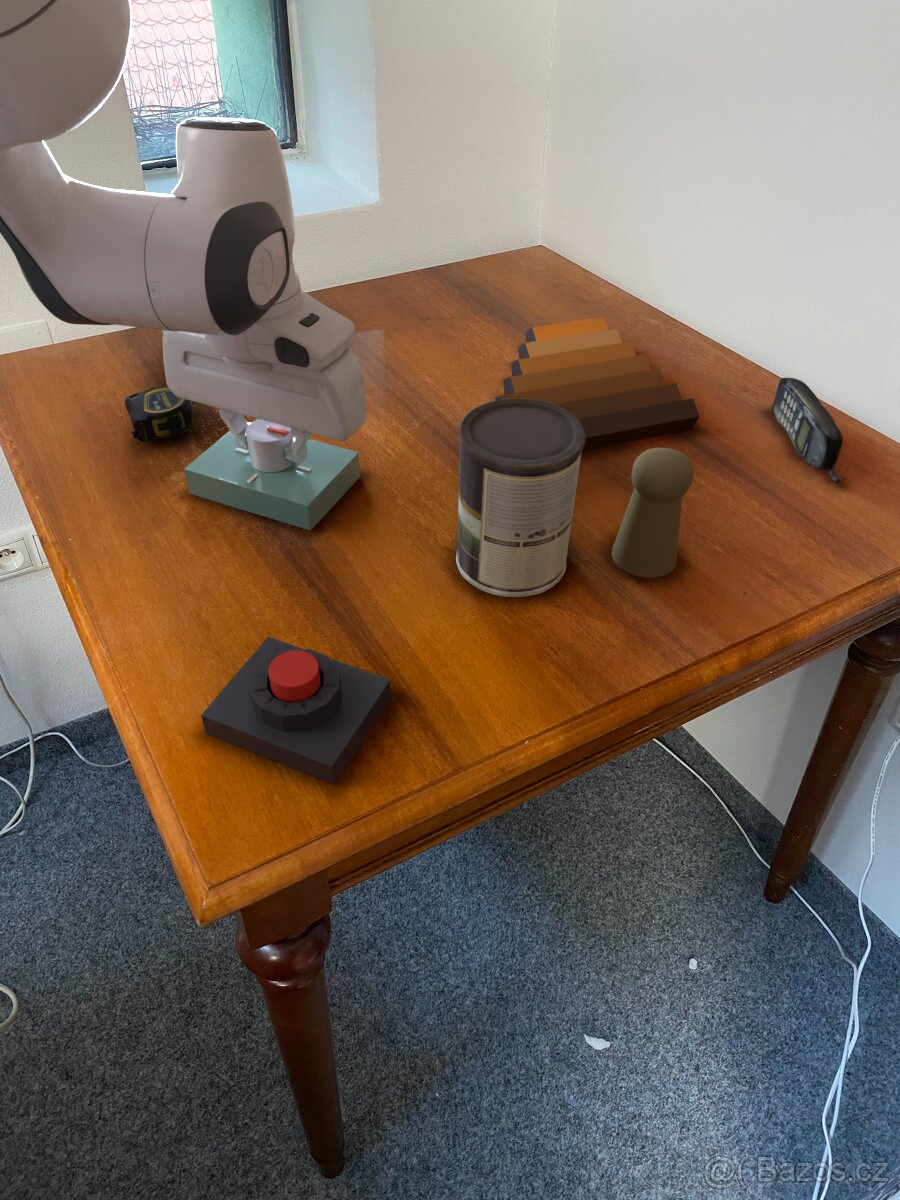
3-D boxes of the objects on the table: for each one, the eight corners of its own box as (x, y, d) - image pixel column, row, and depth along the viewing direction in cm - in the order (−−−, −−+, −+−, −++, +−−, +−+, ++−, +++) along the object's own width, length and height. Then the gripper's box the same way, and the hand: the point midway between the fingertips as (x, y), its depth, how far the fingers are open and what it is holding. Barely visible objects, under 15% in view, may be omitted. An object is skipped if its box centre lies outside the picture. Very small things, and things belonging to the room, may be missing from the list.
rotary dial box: (189, 493, 88) (183, 467, 86) (245, 444, 94) (241, 418, 92) (310, 531, 84) (307, 504, 81) (360, 476, 90) (358, 450, 88)
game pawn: (683, 547, 83) (709, 448, 75) (667, 585, 79) (692, 485, 71) (622, 529, 85) (641, 431, 77) (603, 566, 81) (621, 466, 73)
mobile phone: (776, 373, 98) (833, 443, 87) (801, 372, 99) (861, 442, 87) (765, 413, 102) (818, 485, 90) (790, 412, 102) (846, 484, 91)
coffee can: (432, 565, 80) (433, 432, 71) (500, 513, 86) (509, 384, 77) (523, 615, 76) (537, 480, 66) (588, 557, 81) (609, 426, 72)
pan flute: (488, 473, 91) (695, 432, 98) (489, 445, 89) (702, 405, 96) (413, 363, 108) (594, 335, 115) (413, 338, 106) (597, 310, 113)
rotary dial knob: (241, 465, 86) (235, 432, 84) (266, 443, 89) (261, 410, 86) (279, 476, 85) (275, 443, 82) (303, 454, 88) (299, 421, 85)
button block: (205, 734, 65) (196, 698, 63) (271, 655, 72) (265, 620, 69) (334, 785, 62) (330, 750, 60) (391, 698, 68) (390, 663, 66)
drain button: (261, 693, 64) (258, 677, 63) (287, 660, 66) (285, 644, 65) (304, 709, 63) (302, 693, 62) (329, 675, 65) (327, 659, 64)
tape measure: (128, 419, 98) (120, 389, 95) (191, 408, 100) (184, 378, 97) (136, 451, 93) (128, 420, 91) (201, 439, 95) (195, 408, 92)
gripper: (134, 310, 78) (165, 443, 87) (335, 358, 72) (346, 495, 81) (177, 284, 82) (203, 413, 91) (371, 327, 76) (377, 461, 86)
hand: (271, 452), depth 86 cm, fingers closed on rotary dial knob, 4 cm apart
